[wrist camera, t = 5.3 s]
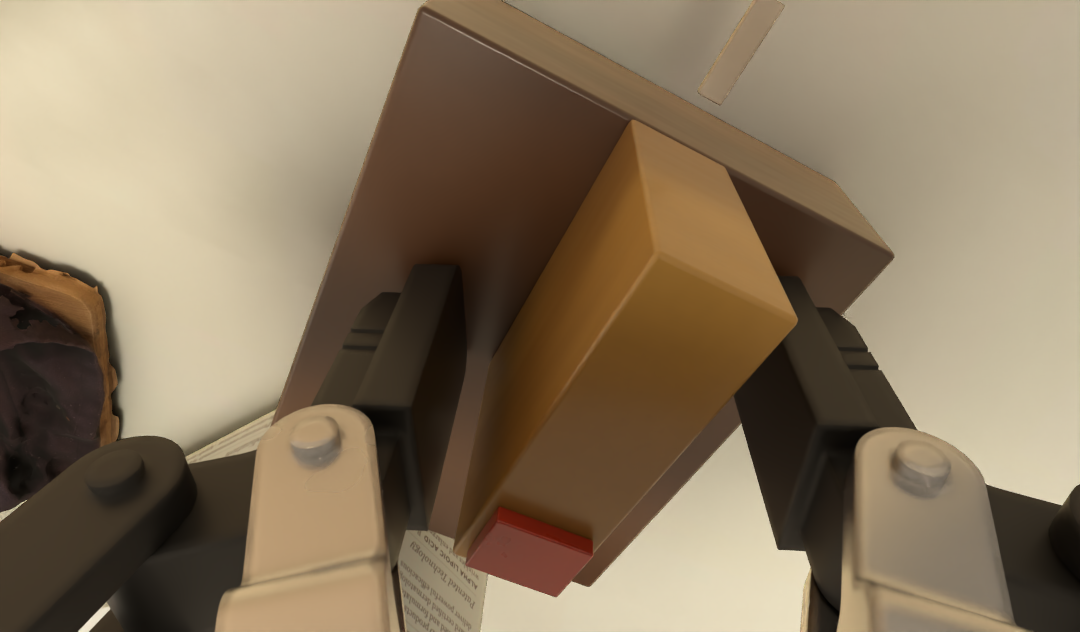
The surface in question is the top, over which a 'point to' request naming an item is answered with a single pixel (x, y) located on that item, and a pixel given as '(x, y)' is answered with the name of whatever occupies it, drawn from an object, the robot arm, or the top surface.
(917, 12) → the top surface
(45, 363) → the bread roll
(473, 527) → the ochre block red tip
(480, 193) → the brown rectangular block
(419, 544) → the small box
